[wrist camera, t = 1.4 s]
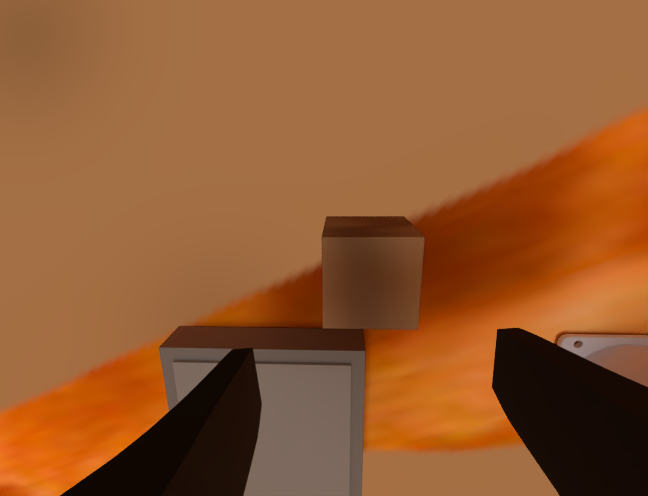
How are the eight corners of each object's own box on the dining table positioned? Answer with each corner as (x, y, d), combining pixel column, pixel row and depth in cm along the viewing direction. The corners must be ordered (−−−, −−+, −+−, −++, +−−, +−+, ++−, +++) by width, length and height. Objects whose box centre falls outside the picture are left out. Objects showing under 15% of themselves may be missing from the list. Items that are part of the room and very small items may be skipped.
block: (404, 216, 19) (424, 237, 15) (399, 288, 21) (417, 329, 16) (326, 216, 20) (321, 237, 15) (327, 287, 21) (322, 328, 16)
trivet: (362, 328, 21) (365, 353, 19) (359, 475, 25) (361, 513, 22) (178, 326, 22) (156, 350, 19) (199, 469, 25) (182, 506, 23)
